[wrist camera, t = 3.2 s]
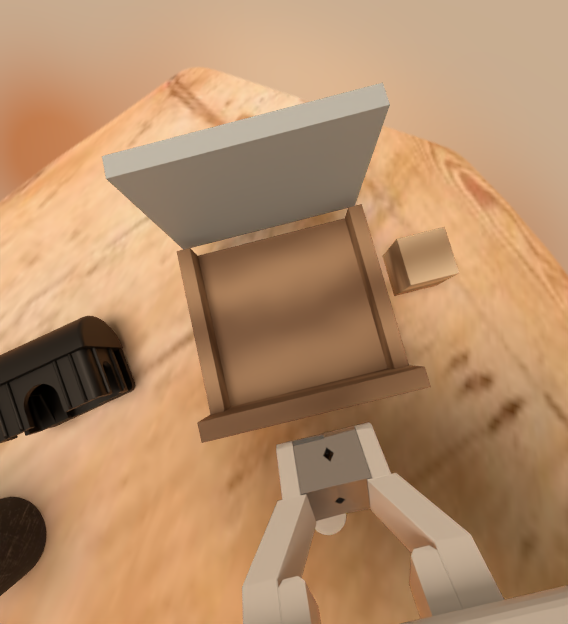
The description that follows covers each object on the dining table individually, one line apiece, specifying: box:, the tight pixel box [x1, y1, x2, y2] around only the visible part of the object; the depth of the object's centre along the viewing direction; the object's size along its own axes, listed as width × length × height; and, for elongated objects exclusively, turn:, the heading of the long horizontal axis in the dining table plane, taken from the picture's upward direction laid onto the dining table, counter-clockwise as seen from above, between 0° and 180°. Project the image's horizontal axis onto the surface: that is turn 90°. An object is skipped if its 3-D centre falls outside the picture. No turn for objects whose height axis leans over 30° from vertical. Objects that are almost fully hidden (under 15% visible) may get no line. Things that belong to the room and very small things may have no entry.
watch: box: [315, 513, 347, 535], centre depth 28 cm, size 6×3×6 cm, turn 112°
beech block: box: [383, 227, 459, 296], centre depth 30 cm, size 4×4×5 cm
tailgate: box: [102, 83, 390, 249], centre depth 22 cm, size 2×14×11 cm, turn 104°
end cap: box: [0, 316, 135, 443], centre depth 30 cm, size 10×7×7 cm
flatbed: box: [177, 204, 431, 443], centre depth 27 cm, size 13×16×12 cm
